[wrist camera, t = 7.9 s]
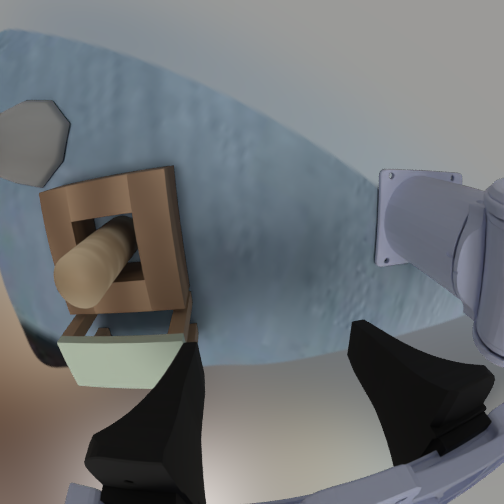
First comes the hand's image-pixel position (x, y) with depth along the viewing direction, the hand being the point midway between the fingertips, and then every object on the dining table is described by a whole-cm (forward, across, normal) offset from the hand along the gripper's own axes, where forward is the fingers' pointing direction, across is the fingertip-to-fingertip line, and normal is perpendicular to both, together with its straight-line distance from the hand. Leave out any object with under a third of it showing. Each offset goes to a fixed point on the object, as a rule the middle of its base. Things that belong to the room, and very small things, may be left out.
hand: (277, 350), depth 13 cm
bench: (+10, +10, +4) cm, 14 cm away
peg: (+10, +10, -4) cm, 14 cm away
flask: (+10, +16, -12) cm, 23 cm away
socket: (+10, +10, -4) cm, 14 cm away
